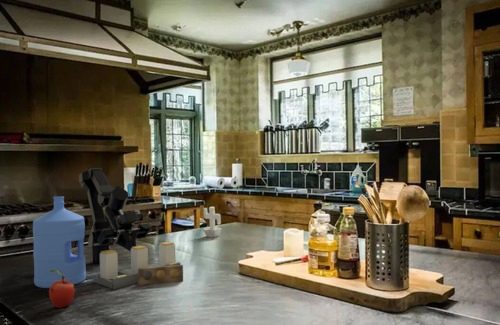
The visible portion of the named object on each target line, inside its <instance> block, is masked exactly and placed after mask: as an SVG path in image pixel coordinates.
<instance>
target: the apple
mask: <svg viewBox="0 0 500 325" xmlns="http://www.w3.org/2000/svg"><path fill="white" fill-rule="evenodd" d="M54 271H56V270H50V271H49V272H54ZM56 272H58V273H59V274H60V275H61V273H60V271H56ZM64 277H65V275H63V276H62V280H59V281H56V282H54V283H53V284H52V285H51V287H50V288H48V289H49V290H48V295H49V296H48V297H49V299H50V301H51V303H52V305H53V306H54V307H55V308H58V309H62V308H66V307H68V306H70V305H71V304H72V302H73V299H74V297H75V293H76V289H75V288H76V286H75V285H73V284H72V283H71V282H69V281H67V280H64Z"/></svg>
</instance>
